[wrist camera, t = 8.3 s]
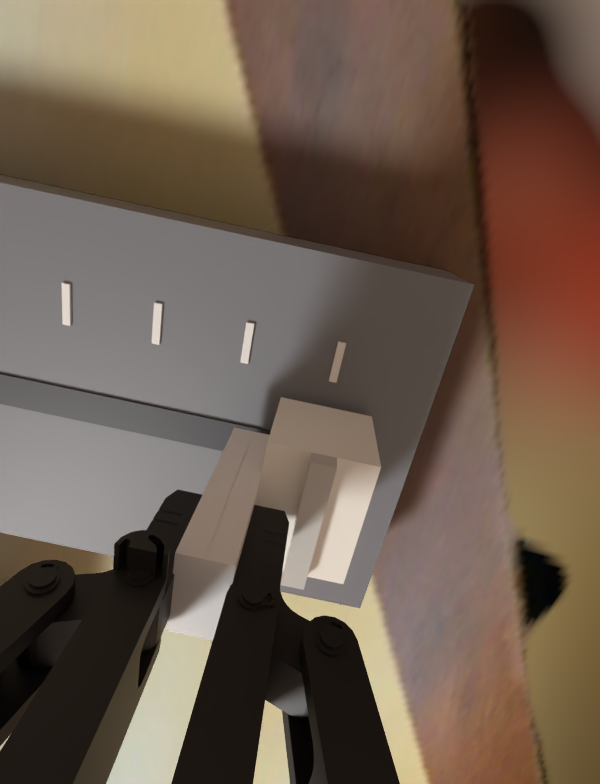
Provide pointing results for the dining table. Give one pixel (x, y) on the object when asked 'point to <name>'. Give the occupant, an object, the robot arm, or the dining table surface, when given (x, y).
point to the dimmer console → (194, 360)
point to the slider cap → (319, 486)
